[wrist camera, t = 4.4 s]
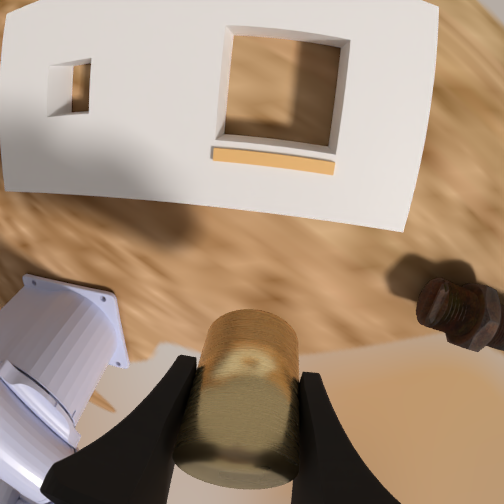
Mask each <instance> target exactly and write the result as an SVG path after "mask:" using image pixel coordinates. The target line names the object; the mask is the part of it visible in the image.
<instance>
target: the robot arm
mask: <svg viewBox="0 0 504 504" xmlns="http://www.w3.org/2000/svg"><path fill="white" fill-rule="evenodd" d="M23 283H24V287H23V288H22V289H21V290H20V291H19V292H18V293H17V294H16V295H15V296H14V297H13V298H12V299H11V300H10V301H9V302H8V303H7V304H6V305H5V306H4V307H3V308H2V309H1V310H0V504H166V503H167V497H168V493H169V488H170V483H171V478H172V474H173V469H174V465H175V462H174V461H173V458H172V454H173V451H174V447H175V444H176V440H177V437H178V433H179V429H180V426H181V422H182V419H183V415H184V412H185V408H186V405H187V402H188V398H189V395H190V391H191V388H192V384H193V381H194V377H195V374H196V371H197V368H196V366H197V364H196V357H191V356H185V355H180V356H178V357H177V359H176V361H175V362H174V363H173V365H172V366H171V368H170V369H169V370H168V372H167V373H166V374H165V376H164V377H163V378H162V379H161V381H160V382H159V383H158V384H157V386H156V387H155V388H154V389H153V390H152V391H151V392H150V394H149V395H148V396H147V397H146V398H145V399H144V400H143V401H142V402H141V403H140V404H139V405H138V406H137V407H136V408H135V409H134V410H133V411H132V412H131V413H130V414H129V415H128V416H127V417H126V418H125V419H123V420H122V421H121V422H120V423H119V424H117V425H116V426H115V427H114V428H112V429H111V430H110V431H108V432H107V433H106V434H105V435H103V436H102V437H100V438H99V439H97V440H96V441H94V442H92V443H91V444H89V445H88V446H86V447H84V448H83V449H81V450H79V449H78V448H77V444H78V442H79V440H80V438H81V435H80V434H79V433H78V432H77V431H76V430H75V426H76V424H77V423H78V421H79V418H80V416H81V415H82V413H83V411H84V409H85V407H86V405H87V403H88V401H89V399H90V397H91V395H92V393H93V391H94V389H95V388H96V386H97V384H98V382H99V380H100V378H101V376H102V374H103V373H104V371H105V369H106V367H107V365H108V364H109V365H112V366H116V367H120V368H124V369H127V368H129V366H130V362H129V358H128V353H127V349H126V344H125V340H124V335H123V330H122V325H121V320H120V315H119V309H118V304H117V298H116V296H115V295H114V294H113V293H112V292H108V291H103V290H98V289H93V288H88V287H84V286H79V285H74V284H69V283H65V282H60V281H56V280H51V279H47V278H43V277H38V276H34V275H30V274H25V275H24V276H23ZM103 296H104V297H105V298H106V299H105V298H104V297H103ZM291 504H401V503H400V502H399V501H398V500H397V499H395V498H394V497H393V496H392V495H391V494H390V493H389V492H388V491H387V489H385V488H384V487H383V485H382V484H381V483H380V482H379V480H378V479H377V478H376V477H375V476H374V475H373V473H372V472H371V471H370V470H369V468H368V467H367V466H366V465H365V463H364V462H363V460H362V459H361V458H360V456H359V454H358V453H357V451H356V450H355V449H354V447H353V445H352V444H351V442H350V440H349V438H348V437H347V435H346V433H345V431H344V429H343V428H342V426H341V424H340V422H339V420H338V417H337V415H336V413H335V411H334V409H333V407H332V405H331V403H330V401H329V398H328V395H327V393H326V390H325V387H324V385H323V382H322V379H321V376H320V374H319V373H311V372H303V373H302V376H301V379H300V382H299V473H298V475H297V476H296V478H294V479H293V488H292V500H291Z"/></svg>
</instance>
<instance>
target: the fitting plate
mask: <svg viewBox="0 0 504 504" xmlns="http://www.w3.org/2000/svg"><path fill="white" fill-rule="evenodd" d="M438 17H439V7H438V6H435V5H433V4H430V3H427V2H425V1H422V0H39V1H37V2H34V3H32V4H29V5H27V6H24V7H22V8H19V9H17V10H15V11H13V12H10V13H8V14H7V16H6V22H5V28H4V36H3V44H2V54H1V66H0V146H1V159H2V169H3V178H4V186H5V191H13V192H36V193H55V194H72V195H87V196H102V197H115V198H128V199H140V200H151V201H162V202H173V203H183V204H193V205H203V206H213V207H222V208H231V209H240V210H248V211H257V212H265V213H273V214H281V215H289V216H296V217H304V218H311V219H319V220H326V221H333V222H340V223H347V224H353V225H360V226H367V227H373V228H379V229H386V230H392V231H398V232H403V231H404V227H405V224H406V220H407V216H408V213H409V209H410V205H411V201H412V197H413V193H414V189H415V185H416V180H417V176H418V172H419V167H420V162H421V158H422V153H423V147H424V142H425V137H426V131H427V125H428V119H429V113H430V106H431V99H432V92H433V84H434V75H435V65H436V53H437V39H438ZM234 35H240V36H256V37H268V38H279V39H288V40H296V41H303V42H310V43H316V44H322V45H328V46H334V47H339V48H341V51H340V61H339V70H338V78H337V87H336V95H335V102H334V110H333V117H332V125H331V132H330V139H329V145H328V146H322V145H315V144H309V143H302V142H295V141H287V140H279V139H271V138H262V137H252V136H242V135H231V134H224V133H225V121H226V109H227V97H228V86H229V76H230V65H231V55H232V46H233V36H234ZM90 63H91V73H90V93H89V111H83V112H72V83H73V66H77V65H84V64H90Z"/></svg>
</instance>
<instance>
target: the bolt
mask: <svg viewBox="0 0 504 504" xmlns="http://www.w3.org/2000/svg"><path fill="white" fill-rule="evenodd" d="M416 315H417V319H418V322H419V323H420V324H421V325H424V326H426V327H429V328H433V329H436V330H439V331H442V332H445V333H446V337H447V341H448V342H449V343H452V344H454V345H457V346H460V347H463V348H466V349H469V350H472V351H476V352H479V351H480V350H481V349H482V348H484V347H485V346H489V347H492V348H495V349H498V350H503V351H504V306H503V305H501V304H500V300H499V297H498V294H497V291H496V290H495V289H493V288H491V287H489V286H485V285H481V284H474V283H467V284H465V285H464V286H463V287H461V286H458V285H456V284H454V283H451V282H449V281H447V280H445V279H443V278H435V279H432V280H431V281H429V282H428V284H427V285H426V286H425V287H424V289H423V290H422V292H421V294H420V296H419V299H418V303H417V308H416Z"/></svg>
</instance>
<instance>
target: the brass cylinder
mask: <svg viewBox="0 0 504 504" xmlns="http://www.w3.org/2000/svg"><path fill="white" fill-rule="evenodd" d="M172 458H173V461H174V462H175V464H176V465H177V466H178V467H179V468H180V469H181V470H183V471H184V472H186V473H187V474H189V475H191V476H192V477H195V478H197V479H199V480H202V481H204V482H207V483H210V484H214V485H218V486H223V487H228V488H236V489H265V488H272V487H277V486H280V485H283V484H286V483H288V482H290V481H292V480H293V479H294V478H296V476H297V475H298V473H299V353H298V338H297V336H296V333H295V331H294V330H293V328H292V327H291V326H290V325H289V324H288V323H287V322H286V321H284V320H283V319H282V318H280V317H278V316H276V315H274V314H272V313H269V312H265V311H261V310H253V309H243V310H236V311H232V312H229V313H227V314H225V315H223V316H221V317H219V318H218V319H217V320H216V321H215V322H213V324H212V325H211V326H210V328H209V330H208V334H207V337H206V340H205V344H204V347H203V350H202V354H201V357H200V361H199V364H198V367H197V371H196V374H195V377H194V381H193V384H192V388H191V391H190V395H189V398H188V402H187V405H186V408H185V412H184V415H183V419H182V422H181V426H180V429H179V433H178V437H177V440H176V444H175V447H174V451H173V454H172Z"/></svg>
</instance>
